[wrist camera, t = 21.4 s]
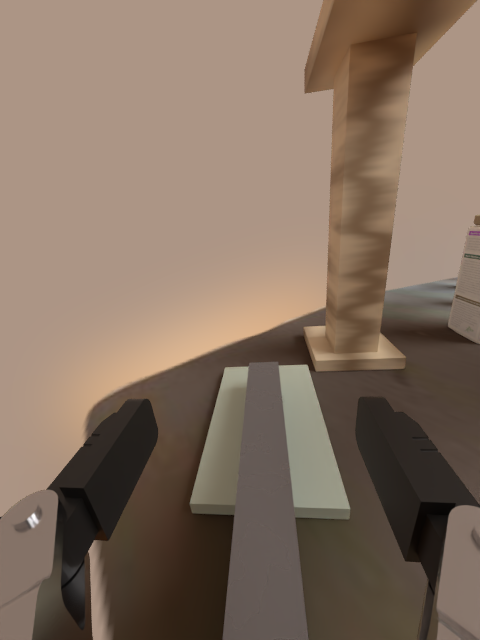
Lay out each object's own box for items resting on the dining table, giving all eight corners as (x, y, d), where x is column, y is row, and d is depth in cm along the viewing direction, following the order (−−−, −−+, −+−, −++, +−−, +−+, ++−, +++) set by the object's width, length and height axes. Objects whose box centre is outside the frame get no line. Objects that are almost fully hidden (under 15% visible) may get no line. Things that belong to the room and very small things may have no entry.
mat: (307, 371, 30) (307, 364, 30) (349, 519, 15) (350, 508, 15) (226, 374, 31) (225, 367, 31) (192, 513, 16) (189, 503, 16)
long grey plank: (279, 385, 26) (278, 361, 25) (312, 715, 9) (313, 683, 8) (251, 386, 27) (248, 362, 26) (229, 705, 9) (219, 673, 8)
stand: (370, 332, 38) (399, 58, 26) (431, 397, 24) (552, -124, 12) (303, 335, 39) (303, 74, 27) (325, 399, 25) (343, -74, 13)
